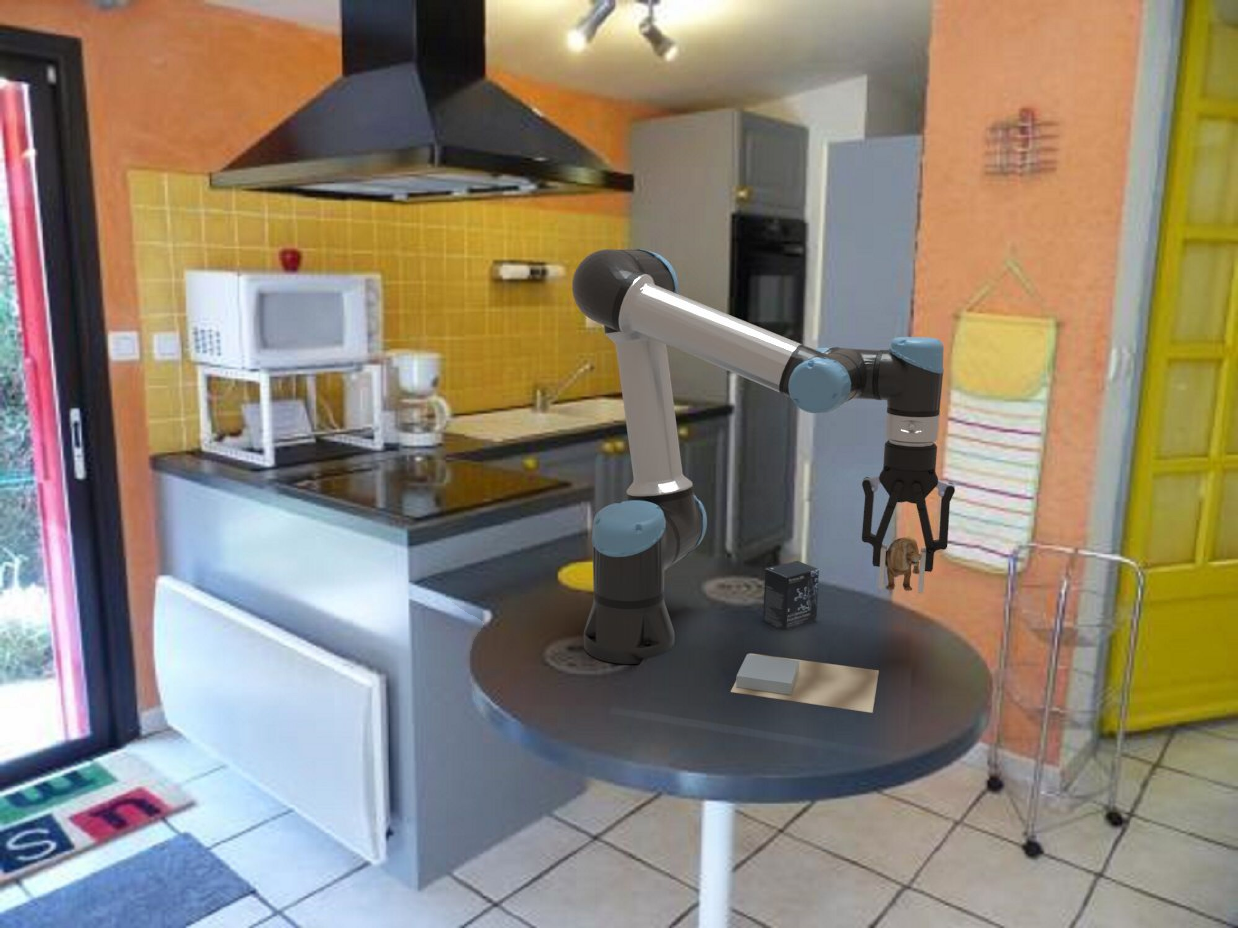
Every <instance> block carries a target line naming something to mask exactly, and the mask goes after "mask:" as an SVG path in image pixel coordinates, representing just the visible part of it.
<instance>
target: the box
mask: <svg viewBox="0 0 1238 928" xmlns="http://www.w3.org/2000/svg"><path fill="white" fill-rule="evenodd" d="M764 571H765V572H764V590H763V591H764V592H763V593H764V594H763V610H762V611H763V612H762V613H763V614H762V615H763V616H762V620H763V621H765V622H766V623H769V624H770V625H772V626H775V627H778V628H779V629H781V630H784V631H785V630H786V631H787V630H789V629H792V628H796V627H799V626H801V625H805V624H808V623H812V622H813V623H817V617H818V595H819V580H820V579H819V575H820V569H819V568H817V567H815V566H813V565H810V564H807V563H805V562H802V561H799V560H794V561H791V562H787V563H784V564H780V565H779V564H778V565H776V566H771V567H765V570H764Z"/></svg>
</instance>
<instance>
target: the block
mask: <svg viewBox="0 0 1238 928" xmlns="http://www.w3.org/2000/svg"><path fill="white" fill-rule="evenodd" d="M751 654H752V653H751ZM751 654H749V653H746V656H745V657H744V660H743V662H742V664H741V666H740V667H739V670H738V672H737V674H736V677H735V679H736V680H735V682H736V687H739V688H746V689H753V690H760V691H766V692H773V693H780V694H787V695H791V693H792V690H793V687H794V685H795V682H796V679H797V676H798V673H799V661H796V660H797V659H796V660H789V659H790V658H789V659H781V658H782V657H781V658H774V657H775V656H774V657H766V656H767V655H766V656H759V655H760V654H759V655H751Z"/></svg>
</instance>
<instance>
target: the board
mask: <svg viewBox="0 0 1238 928" xmlns="http://www.w3.org/2000/svg"><path fill="white" fill-rule="evenodd" d="M748 654H751V655H759V656H766V657H774V658H781V659H789V660H796V661H799V673H798V676H797V679H796V682H795V685H794V687H793V690H792V693H791V695H787V694H780V693H773V692H766V691H760V690H753V689H746V688H739V687H736V681H735V682H734V684H733V686H732V688H731V690H730V693H736V694H741V695H749V696H755V697H762V698H763V697H764V698H769V699H775V700H782V701H790V702H797V703H803V704H810V705H816V706H822V707H823V706H824V707H830V708H836V709H843V710H849V711H850V710H851V711H856V712H857V711H858V712H864V713H871V714H873V713H874V706H875V705H874V704H875V699H876V693H877V686H878V678H879V673H880V670H879V669H870V668H864V667H863V668H862V667H855V666H848V665H841V664H832V663H825V662H819V661H811V660H803V659H795V658H787V657H782V656H780V657H779V656H772V655H766V654H759V653H758V654H757V653H748Z"/></svg>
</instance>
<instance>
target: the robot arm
mask: <svg viewBox="0 0 1238 928" xmlns="http://www.w3.org/2000/svg"><path fill="white" fill-rule="evenodd" d="M678 279H679V278H678V277H677V274H676V272H675V269H674V267H673V266H672V264H670V262H669V261H668V260H667V259H666V258H664V257H663V256H662V255H661V254H658V253H656V252H653V251H649V250H646V249H641V248H637V249H635V248H632V249H614V248H613V249H612V248H610V249H599V250H596V251H594V252H592V253H590V254H588V255H587V256H586V257H585V258H584V259H583V260H581V261H580V262H579V264H578V265H577V267H576V269H575V271H574V274H573V278H572V282H571V283H572V285H571V289H572V290H571V291H572V296H573V299H574V302H575V304H576V306H577V307H578V309H579V311H580V312H581V313H582V314H583V315H584V316H586V317H587V318H588V319H590V321H591V320H592V321H593V322H596V323H597V324H601V325H603V326H604V335H605V337H607V338H609V340H610V341H611V342H613V344H615V349H616V356H617V364H618V371H619V372H618V374H619V379H620V386H621V394H622V401H623V409H624V410H623V411H624V416H625V424H626V431H627V438H628V439H627V440H628V446H629V453H630V461H631V462H630V463H631V469H632V475H633V476H632V477H633V482H632V483H631V484H630V486H629V487H628V488H627V489H626V498H627V500H623V501H621V502H619V503H618V502H614V503H611V504H609V505H606V506H604V507H603V508H601V509H600V510H599V511H598V512H597V513H596V514H595V516H594V519H593V523H592V532H591V544H592V579H593V581H592V585H593V602H592V605H591V609H590V612H589V615H588V618H587V622H586V624H585V628H584V630H583V648H584V651H585V652H586V653H587V654H588V655H589V656H591V657H592V658H593V657H594V658H595V659H597V660H600V661H603V662H608V663H612V664H619V665H621V664H622V665H630V664H631V665H633V664H637V665H638V664H641V663H642V662H643V660H644V659H648V658H653V657H657V656H659V655H662V654H664V653H666V652H668V651H670V649H672V648H673V646H674V645H675V637H676V636H675V629H674V627H673V624H672V619H671V618H670V614H669V612H668V609H667V605H666V603H665V570H667V569H668V568H670V567H672V566H673V565H674V564H675V563H678V562H679V561H680V560H682V559H684V558H686V557H688V556H689V555H691V554H692V553H693V552H694V550H695V549H696V548H697V547H698V546H699V545H700V544H701V543H702V542H703V541H702V540H703V539H704V537H705V534H706V532H707V527H708V526H707V525H708V517H707V512H706V509H705V506H704V504H703V503H702V501H701V500H699V499H698V498H697V495H695V491H694V485H693V484H694V483H693V481H691V479H689V478H687V476H685V475H684V473H683V466H682V458H681V450H680V443H679V435H678V428H677V420H676V411H675V403H674V395H673V388H672V380H671V371H670V362H669V354H668V349H667V345H668V346H670V347H672V348H675V349H677V350H679V351H681V352H684V353H686V354H688V355H691V356H693V357H696V358H698V359H700V360H702V361H705V362H707V363H710V364H712V365H714V366H716V367H719V368H721V369H724V370H725V371H728V372H731V373H733V374H735V375H738V376H740V377H742V378H745V379H747V380H750V381H752V382H754V383H757V384H758V385H761V386H763V387H766V388H767V389H770V390H773V391H775V392H777V393H779V394H782V395H785V396H786V397H788V398H790V399H791V400H792V401H793V403H794V405H796V406H797V408H799V409H800V410H802V411H804V412H806V413H810V414H824V413H829V412H830V411H834V410H837V409H838V408H839V407H840V406H842V405H844V404H845V403H847V402H849V401H850V400H853V399H855V400H856V399H857V400H876V401H886V403H887V405H886V406H887V407H886V418H885V419H886V420H885V421H886V422H885V435H884V436H885V438H886V439H887V440H886V442H885V443H884V451H883V466H882V467H883V468H882V470H881V472H880V473H879V475H877V476H873V477H868V476H865V477H863V480H862V482H861V487H862V490H863V493H864V506H863V515H862V516H863V518H862V529H861V541H862V542H863V543H868V544H870V545H871V546H872V566H873V567H878V568H879V573H878V575H879V576H878V590H884V589H885V577H886V551H887V550H888V549H887V547H888V544H887V543H884V539H885V537H886V534H887V531H888V528H889V526H890V523H891V520H892V517H893V514H894V511H895V509H896V507H897V504H898V503H906V502H907V503H910V504H916V505H915V506H916V509H917V513H918V517H919V522H920V523H919V524H920V528H921V531H922V535H923V537H922V538H923V542H924V545H925V547H920V555H921V556H922V557H921V559H920V560H919V574H918V584H917V585H918V587H917V594H922V595H923V594H924V585H925V572H930V573H931V572H933V570H934V559H935V558H934V557H935V552H937V551H939V550H942V551H943V550H946V549H947V548H948V542H949V541H948V539H949V523H950V522H949V520H950V504H951V501H952V499H953V496H954V494H955V491H956V489H955V488H956V486H955V484H954V483H953V482H945V481H943V480H939V477H938V475H937V473H936V469H937V467H936V466H937V455H938V454H937V453H938V446H937V444H936V443H935V442H936V441H938V439H939V429H940V428H939V427H940V417H941V416H940V415H941V414H940V413H941V412H940V409H941V402H942V401H941V400H942V391H943V390H942V388H943V378H944V372H945V369H944V345H943V342H942V341H941V340H940V339H938V338H935V337H927V336H898V337H895V338H893V339H892V340H891V343H890V346H889V348H888V349H880V350H879V349H862V348H861V349H859V348H845V347H844V348H843V347H839V346H833V347H817V348H815V349H814V348H812V347H810V346H806V345H804V344H802V343H800V342H798V341H795V340H793V339H792V340H791V339H789V338H786V337H785V336H782V335H780V334H777V333H775V332H772V331H770V330H767V329H765V328H762V327H761V326H757V325H755V324H752V323H750V322H749V321H748V322H747V321H745V320H743V319H740V318H737V317H735V316H734V315H733V316H732V315H730V314H728V313H725V312H723V311H721V310H719V309H716V308H713V307H711V306H708V305H706V304H703V303H701V302H699V301H696V300H693V299H691V298H689V297H686V296H684V295H682V294H679V280H678ZM880 484H881V485H882V487H883V488H884V490H885V491H886V493H887V495H888V496H889V497H888V501H887V503H886V506H885V509H884V511H883V513H882V514H883V515H882V517H881V519H880V523H879V525H878V528H877V531H876V533H875V534H874V533H873V532H872V527H873V526H872V523H873V514H874V513H873V512H874V501H875V492H877V490H878V488H879V485H880ZM935 488H937V493H938V496H939V497H940V498H941V499H940V512H939V514H940V516H939V531H938V532H939V533H938V539H935V540H934V535H933V531H932V526H931V521H930V517H929V516H930V515H929V512H928V506H927V501H926V498H927V497H928V496H929V495H930V494H931V493H932V491H934V489H935Z"/></svg>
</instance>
